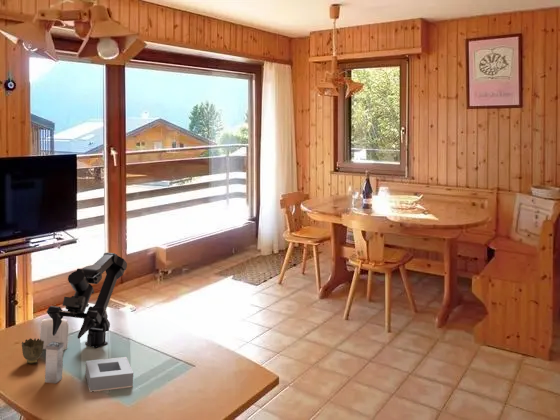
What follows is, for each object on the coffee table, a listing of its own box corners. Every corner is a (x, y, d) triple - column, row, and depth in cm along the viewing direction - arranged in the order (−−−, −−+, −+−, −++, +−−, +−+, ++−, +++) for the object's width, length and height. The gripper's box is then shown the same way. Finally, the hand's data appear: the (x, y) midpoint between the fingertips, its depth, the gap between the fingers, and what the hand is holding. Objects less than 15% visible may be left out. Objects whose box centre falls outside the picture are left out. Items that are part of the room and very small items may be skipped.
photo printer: (68, 346, 211) (69, 316, 210) (66, 350, 207) (67, 320, 206) (40, 346, 209) (41, 316, 207) (38, 350, 205) (39, 319, 203)
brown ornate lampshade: (34, 368, 190) (35, 347, 189) (16, 365, 191) (17, 343, 190) (47, 360, 197) (48, 339, 196) (30, 357, 198) (30, 336, 197)
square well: (85, 374, 189) (85, 360, 188) (125, 369, 195) (126, 356, 194) (89, 391, 176) (90, 377, 176) (132, 386, 182) (133, 373, 182)
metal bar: (51, 377, 184) (52, 341, 183) (62, 378, 184) (63, 342, 182) (44, 382, 180) (46, 345, 179) (56, 383, 180) (57, 347, 178)
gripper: (50, 284, 192) (32, 323, 182) (99, 289, 190) (84, 329, 181) (60, 299, 201) (43, 337, 191) (107, 304, 199) (93, 343, 190)
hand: (65, 336), depth 188 cm, fingers open, 9 cm apart
